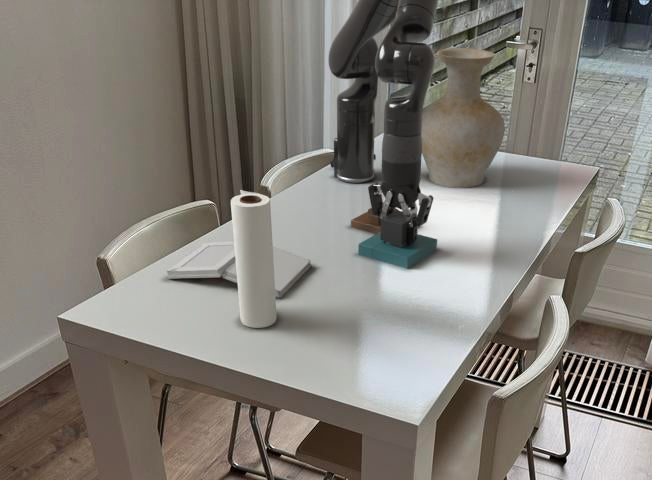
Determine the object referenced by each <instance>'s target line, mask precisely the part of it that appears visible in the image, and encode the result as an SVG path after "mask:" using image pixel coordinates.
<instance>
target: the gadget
mask: <svg viewBox="0 0 652 480" xmlns="http://www.w3.org/2000/svg"><path fill="white" fill-rule="evenodd" d="M273 261H274V279H275V297H276V299H281V298H282V297H283V296H284V295H285V294H286V293H287V292H288V290H290V289H291V288H292V287H293V286H294V285H295V284H296V283H297V281H298V280H299V279H300V278H302V277H303V275H305V273H306V272H307V271H309V269H310V268H311V267H312V264H311V259H309V258H306V257H304V256H300V255H297V254H294V253H292V252H290V251H289V252H288V251H286V250H283V249H281V248H279V247H276V246H273ZM166 273H167V275H166V279H168V280H169V279H205V278H207V279H208V278H222V279H224V280H227V281H230V282H233V283H235V284H238V283H237V271H236V259H235V247H234V241H214V242H204V243H202V244H201V245H200V246H199V247H197V248H196V249H195V250H194V251H192V252H191V253H189V254H188V255H187V256H185V257H184V258H182V259H181V260H179V262H177V263H176V264H174V265H173V266H171V267H170V268H169V269H167V271H166Z"/></svg>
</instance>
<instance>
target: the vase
mask: <svg viewBox="0 0 652 480" xmlns="http://www.w3.org/2000/svg"><path fill="white" fill-rule="evenodd" d="M436 53H437V56H438V58H439V60H440V62H441V63H443V64H444V65H445V67H446V70H447V82H446V88H445V92H444V94H443V96H442V97H440V98H439V99H437V100H434V101H433V102H431V103H430V104H428V105H427V106H425V108H423V112H422V131H421V137H422V158H423V160H424V162H425V165H426V168H427V170H428V179H429V181H430V182H432V183H433V184H435V185H438V186H442V187H446V188H458V189H459V188H460V189H462V188H463V189H464V188H465V189H466V188H473V187H477V186H479V185H481V184H483V182H484V180H485V176H486V173H487V171H488V169H489V167H490V166H491V164H492V163H493V161H494V159H495V157H496V155H498V152H499V150H500V148H501V147H502V143H503V139H504V136H505V131H506V130H505V129H506V126H505V125H506V124H505V121H504V118H503V116H502V114H501V113H500V111H498V109H496V108H495V107H494V106H493V105H492V104H490V103H488V102H487V101H485V100H484V99H483V98H482V95H481V78H482V73H483V70H484V68H485V67H486V66H488V65H489V64H490V63H491V62H492V60H493V59H494V57H496V55H495V53H494V52H492V51H490V50H487V49H486V50H485V49H478V48H470V47H469V48H468V47H453V48H443V49H439V50H437V51H436Z"/></svg>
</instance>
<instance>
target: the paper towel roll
mask: <svg viewBox="0 0 652 480" xmlns="http://www.w3.org/2000/svg"><path fill="white" fill-rule="evenodd" d="M239 191H240V194H237V195H235V196H233V197H232V198H231V199H230V208H231V209H230V210H231V211H230V212H231V222H232V235H233V242H234V247H235V259H236V271H237V283H236V284H237V293H238V305H239V315H240V321H241V323H242V325H244V326H246V327H249V328H252V329H261V328H262V329H263V328H267V327H270V326H272V325H274V324H275V323H276V321H277V318H278V317H277V301H276V299H277V298H276V297H275V279H274V261H273V247H274V246H273V245H274V244H273V243H274V242H273V228H272V209H271V199H270V198H269V196H267V195H264V194H262V193H258V192H253V191H246V190H243V189H240V190H239Z"/></svg>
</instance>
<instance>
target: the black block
mask: <svg viewBox="0 0 652 480" xmlns="http://www.w3.org/2000/svg"><path fill="white" fill-rule="evenodd" d="M398 210H399V209H398ZM398 210H396V211H394V212H392V213H391V214H389V215H387V216H385V217H383V218H381V233H380V240H382V241H386V244H389V245H393V246H397V247H400V248H403V247H404V246H406V245H408V244H406V243H407V227H408V224H407V221H406V217H405V216H404V215H403V211H402V210H399V211H398Z"/></svg>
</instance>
